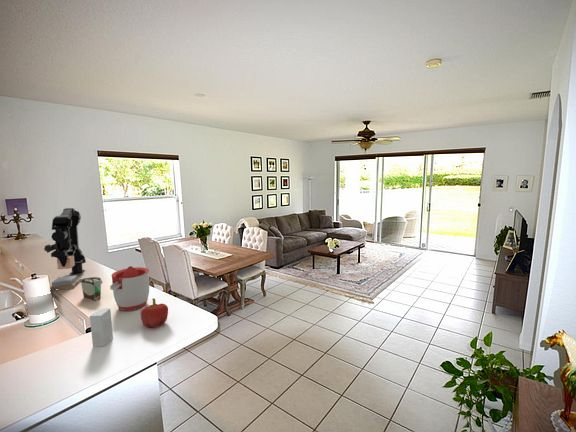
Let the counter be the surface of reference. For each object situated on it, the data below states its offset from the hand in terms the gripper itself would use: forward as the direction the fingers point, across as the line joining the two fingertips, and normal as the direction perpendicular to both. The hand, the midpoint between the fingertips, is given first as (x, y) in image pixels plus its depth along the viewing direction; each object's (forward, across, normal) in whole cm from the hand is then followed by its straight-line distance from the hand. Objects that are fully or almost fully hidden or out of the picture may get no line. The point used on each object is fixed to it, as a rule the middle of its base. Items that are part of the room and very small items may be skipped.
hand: (66, 265), depth 158 cm
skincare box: (+13, +73, +35) cm, 82 cm away
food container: (+12, +25, +20) cm, 34 cm away
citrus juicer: (+13, +43, +40) cm, 60 cm away
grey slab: (+10, +1, -1) cm, 10 cm away
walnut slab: (+13, 0, -1) cm, 13 cm away
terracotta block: (+1, 0, 0) cm, 1 cm away
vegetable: (+13, +65, +52) cm, 85 cm away
